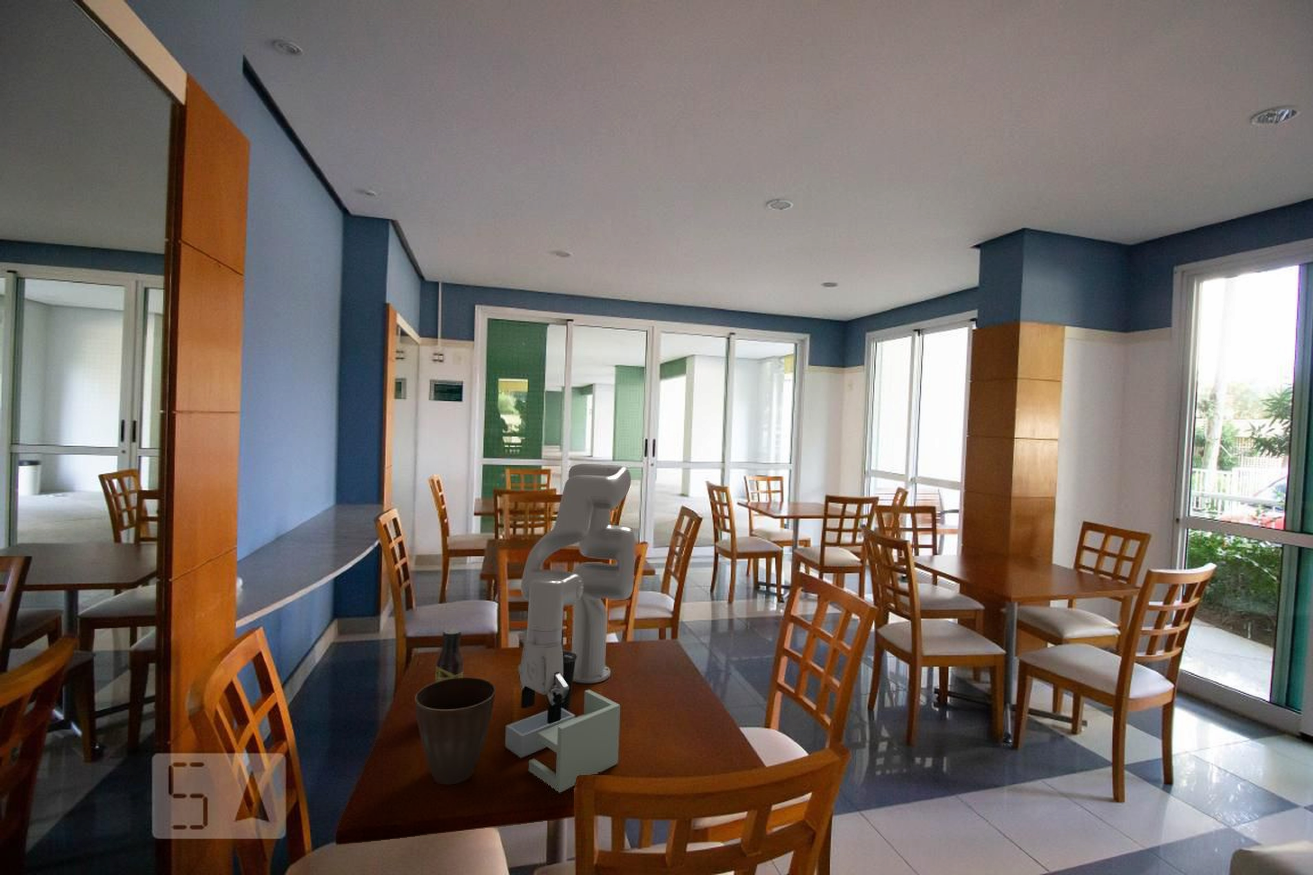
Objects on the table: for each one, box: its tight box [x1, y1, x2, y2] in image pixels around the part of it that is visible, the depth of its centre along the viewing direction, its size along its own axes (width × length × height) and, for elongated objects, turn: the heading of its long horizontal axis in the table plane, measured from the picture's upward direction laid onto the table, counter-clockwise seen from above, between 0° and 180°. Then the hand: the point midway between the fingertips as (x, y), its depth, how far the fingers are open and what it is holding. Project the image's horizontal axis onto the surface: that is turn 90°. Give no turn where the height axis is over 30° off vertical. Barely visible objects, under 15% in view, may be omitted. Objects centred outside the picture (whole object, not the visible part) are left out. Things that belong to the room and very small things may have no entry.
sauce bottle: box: [434, 627, 464, 683], centre depth 139 cm, size 6×6×20 cm
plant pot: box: [414, 676, 497, 786], centre depth 114 cm, size 15×15×16 cm
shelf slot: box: [528, 689, 621, 794], centre depth 118 cm, size 10×15×12 cm, turn 136°
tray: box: [504, 708, 576, 759], centre depth 128 cm, size 14×6×4 cm, turn 137°
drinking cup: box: [547, 629, 577, 712], centre depth 142 cm, size 8×8×20 cm
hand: (540, 713), depth 127 cm, fingers open, 9 cm apart
